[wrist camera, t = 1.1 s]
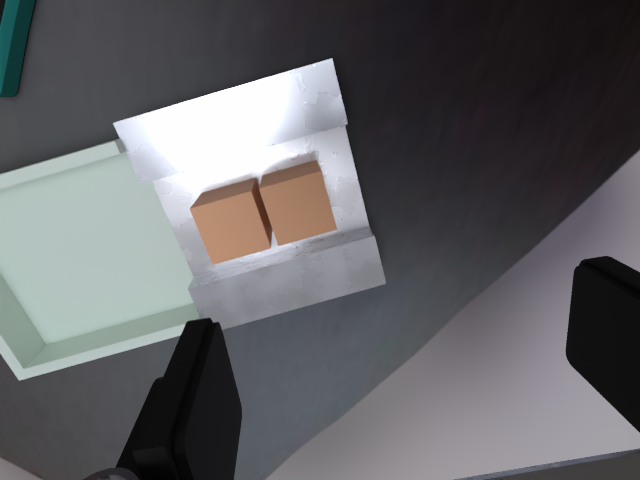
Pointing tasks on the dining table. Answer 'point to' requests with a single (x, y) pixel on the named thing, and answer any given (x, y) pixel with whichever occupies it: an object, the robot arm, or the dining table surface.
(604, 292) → the robot arm
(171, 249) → the tray
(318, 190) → the chip
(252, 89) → the slotted block
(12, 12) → the digital multimeter
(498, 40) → the dining table surface
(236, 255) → the chip
